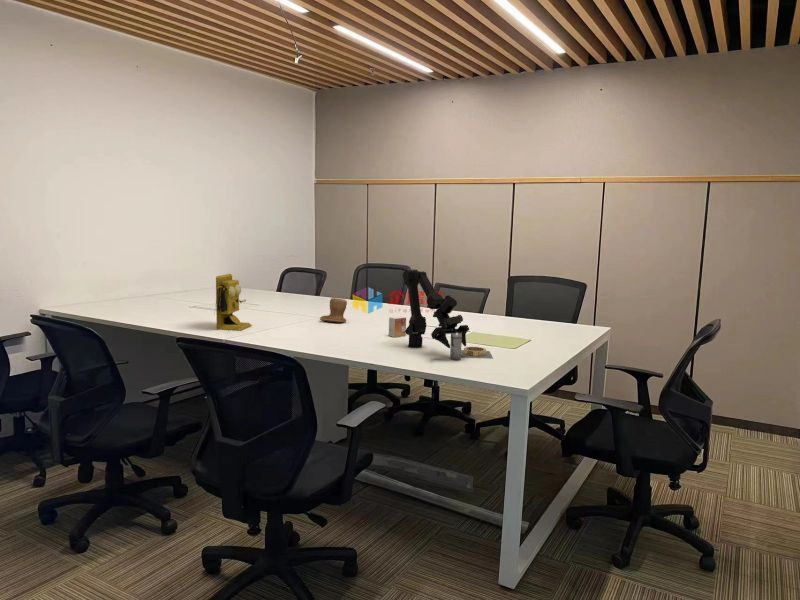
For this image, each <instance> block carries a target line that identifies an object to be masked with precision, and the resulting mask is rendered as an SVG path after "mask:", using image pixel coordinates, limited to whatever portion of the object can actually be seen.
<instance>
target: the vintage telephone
mask: <svg viewBox="0 0 800 600" xmlns="http://www.w3.org/2000/svg"><path fill="white" fill-rule="evenodd" d="M241 293H242V287H241V286H240V280H239V279H233V275H232V274H231V273H227V274H221V275H217V276H216V277H215V312H216V331H228V332H229V331H235V332H236V331H238V332H239V331H240V332H242V331H244V330H246V329H249V328H250V327H252V326H253V325H252V324H251V323H250V322H241V321H240V319H239V318H238V317H237V316H236V315H234V314H233V313H236V312H239V311H240V304H242V303H245V302H247V299H243V300H240V295H241ZM215 312H214V316H215Z"/></svg>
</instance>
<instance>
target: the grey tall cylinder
mask: <svg viewBox="0 0 800 600" xmlns="http://www.w3.org/2000/svg"><path fill="white" fill-rule="evenodd" d="M462 345H463V344H462V333H461V332H451V334H450V348H449V353H450V354H449V360H451V361H457V362H458V361H461V360H462V358H461V350H462Z"/></svg>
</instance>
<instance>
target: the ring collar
mask: <svg viewBox="0 0 800 600" xmlns="http://www.w3.org/2000/svg"><path fill="white" fill-rule="evenodd" d="M463 350H464V355H467V356H473V357H481V356H485V355H486V351H487V349H486V348H484V347H479V346H464V348H463Z"/></svg>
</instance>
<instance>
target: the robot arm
mask: <svg viewBox="0 0 800 600" xmlns="http://www.w3.org/2000/svg"><path fill="white" fill-rule="evenodd" d="M402 278H403V282H404V284H405V286H406V287H407V291H408V299H409V300H408V301H409V306H410V318H409V319H408V326H406V330H405V331H406V335H408V347H409V348H422V346H423V336H422V335H425V334H426V329H427V325H428V324H427V318H426V317H425V316H423V315H422V310H421V303H420V294H419V285H420V287H421V289H422V291H423V293H424V295H425V296H426V304H427V307H428V308H429V310H435V311H434V312H433V314H432V317H433V318H436V319H437V321H438V327H435V328H434V329H433V331H432V332H431V334H430V336H431V338H432V339H433V340H435V341H438V342H439V343H440V344H442V345H444V346H445V347H447V348H448V349H450V347H451V343H450V342H449V340H448V338H447V335H451V332H461V333H462V344H461V345H463V346H464V347H467V339H466V338H467V336H466V334H467V333H468V332H469V331H470V327H469V326H468V324H461V323H462V322H463V321H464V318H463V316H462V315H461V314H458V315H456V316H450V314H451V313H452V312H453V311H454V309H455V308H456V306H457V305H458V301H457V300H456V299H455V297H451V296H450V295H449V294H448V295H446V296H444V297H443V296H442V295H441V293H438V291H436V289H435V288H434V286H433V285H432V282H431V281H430V280H429V277H428V276H427V272H425V271H423V270H422V271H419V270H418V269H405V270H404V271H403V272H402ZM458 324H461V325H459V326H458Z"/></svg>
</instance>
